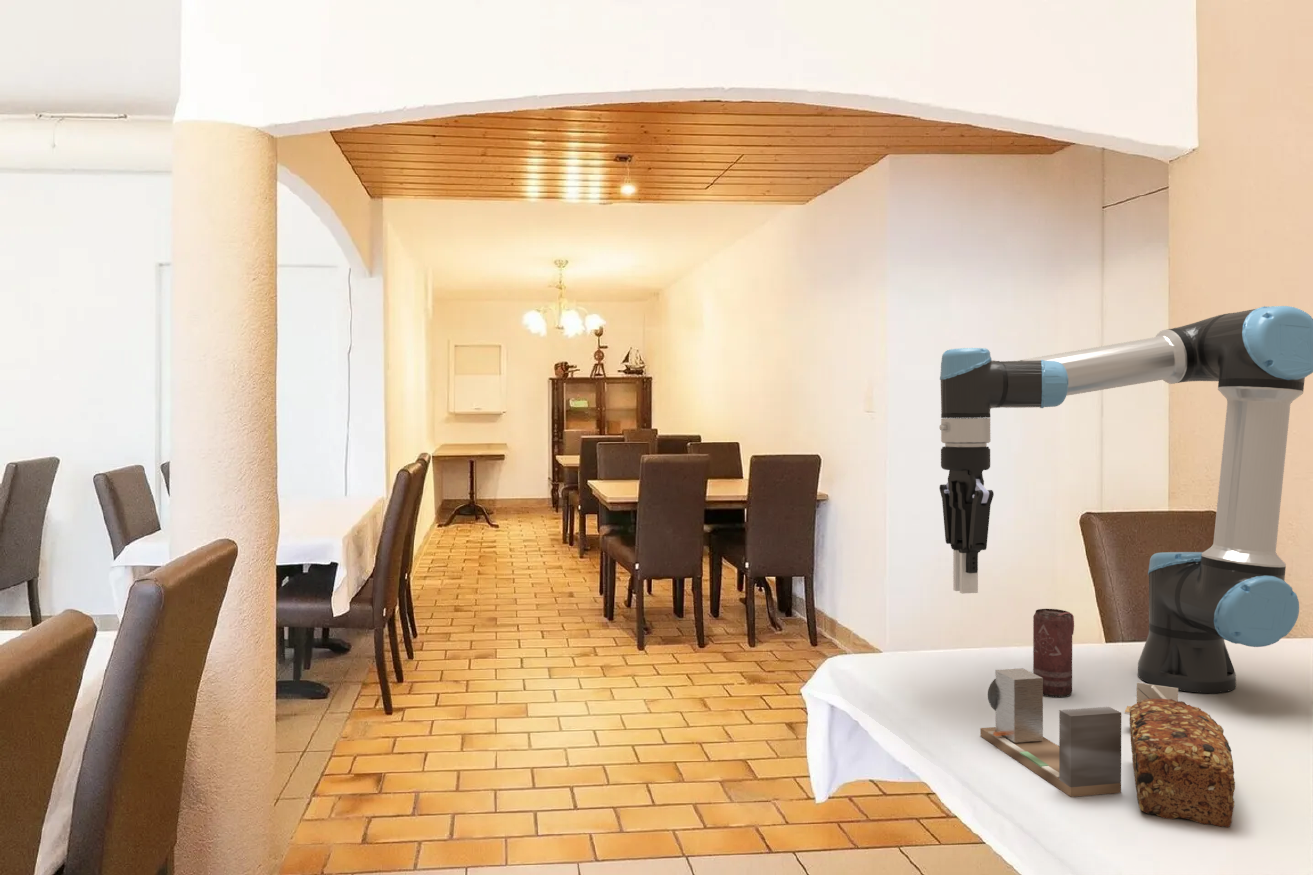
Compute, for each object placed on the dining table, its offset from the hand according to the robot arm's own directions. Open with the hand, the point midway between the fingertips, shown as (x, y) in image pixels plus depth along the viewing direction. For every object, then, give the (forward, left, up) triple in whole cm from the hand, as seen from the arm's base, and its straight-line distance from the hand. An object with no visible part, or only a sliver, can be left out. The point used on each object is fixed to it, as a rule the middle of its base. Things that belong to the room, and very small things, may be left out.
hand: (965, 591), depth 148 cm
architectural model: (-25, +11, -20) cm, 34 cm away
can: (-18, -9, -20) cm, 28 cm away
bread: (-16, +32, -20) cm, 41 cm away
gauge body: (-4, +21, -19) cm, 29 cm away
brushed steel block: (-2, +15, -18) cm, 24 cm away
